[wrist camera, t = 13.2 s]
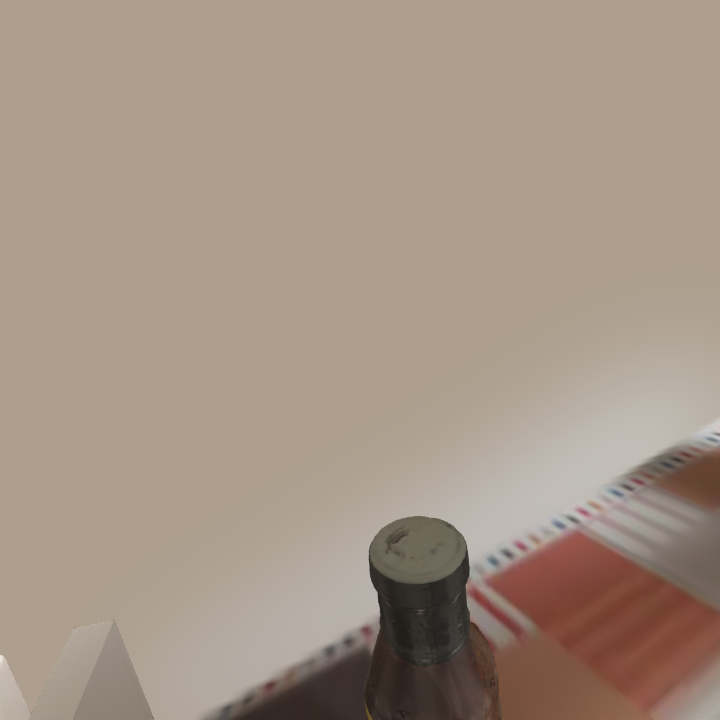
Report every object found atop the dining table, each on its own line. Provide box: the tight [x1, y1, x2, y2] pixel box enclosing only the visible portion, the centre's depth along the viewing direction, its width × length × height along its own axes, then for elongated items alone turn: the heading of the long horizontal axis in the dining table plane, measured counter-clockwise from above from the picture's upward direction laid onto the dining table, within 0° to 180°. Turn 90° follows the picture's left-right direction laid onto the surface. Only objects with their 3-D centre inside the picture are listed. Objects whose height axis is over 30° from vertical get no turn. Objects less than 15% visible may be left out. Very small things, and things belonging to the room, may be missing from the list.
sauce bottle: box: [364, 516, 502, 720], centre depth 25 cm, size 6×6×20 cm
